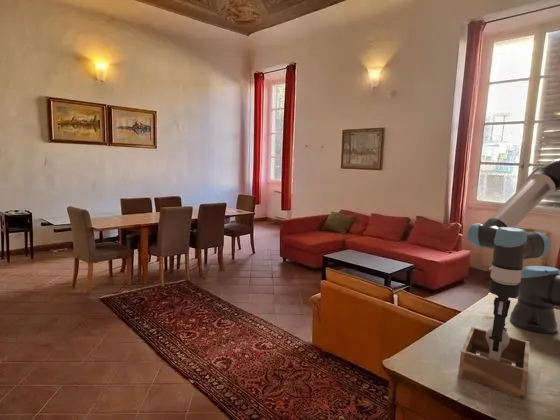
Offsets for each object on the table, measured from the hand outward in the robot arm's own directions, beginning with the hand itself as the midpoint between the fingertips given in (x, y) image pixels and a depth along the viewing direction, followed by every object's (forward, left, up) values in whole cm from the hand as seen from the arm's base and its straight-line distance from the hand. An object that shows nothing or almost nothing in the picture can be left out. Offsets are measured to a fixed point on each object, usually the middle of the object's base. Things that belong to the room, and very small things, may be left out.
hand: (495, 355), depth 109 cm
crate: (0, 0, -5) cm, 5 cm away
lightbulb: (0, 0, -3) cm, 3 cm away
